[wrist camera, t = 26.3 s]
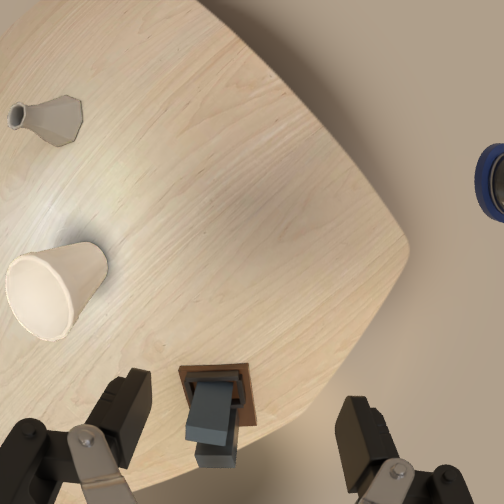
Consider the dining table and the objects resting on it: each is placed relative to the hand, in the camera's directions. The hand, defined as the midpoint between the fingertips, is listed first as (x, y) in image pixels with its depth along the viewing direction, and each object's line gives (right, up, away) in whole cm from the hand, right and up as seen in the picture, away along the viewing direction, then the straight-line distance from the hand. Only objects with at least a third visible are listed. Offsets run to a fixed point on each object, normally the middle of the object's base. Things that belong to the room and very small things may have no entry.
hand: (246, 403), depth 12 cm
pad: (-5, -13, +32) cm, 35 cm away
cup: (-22, +5, +29) cm, 36 cm away
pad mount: (-5, -16, +34) cm, 38 cm away
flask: (-25, +24, +23) cm, 42 cm away
